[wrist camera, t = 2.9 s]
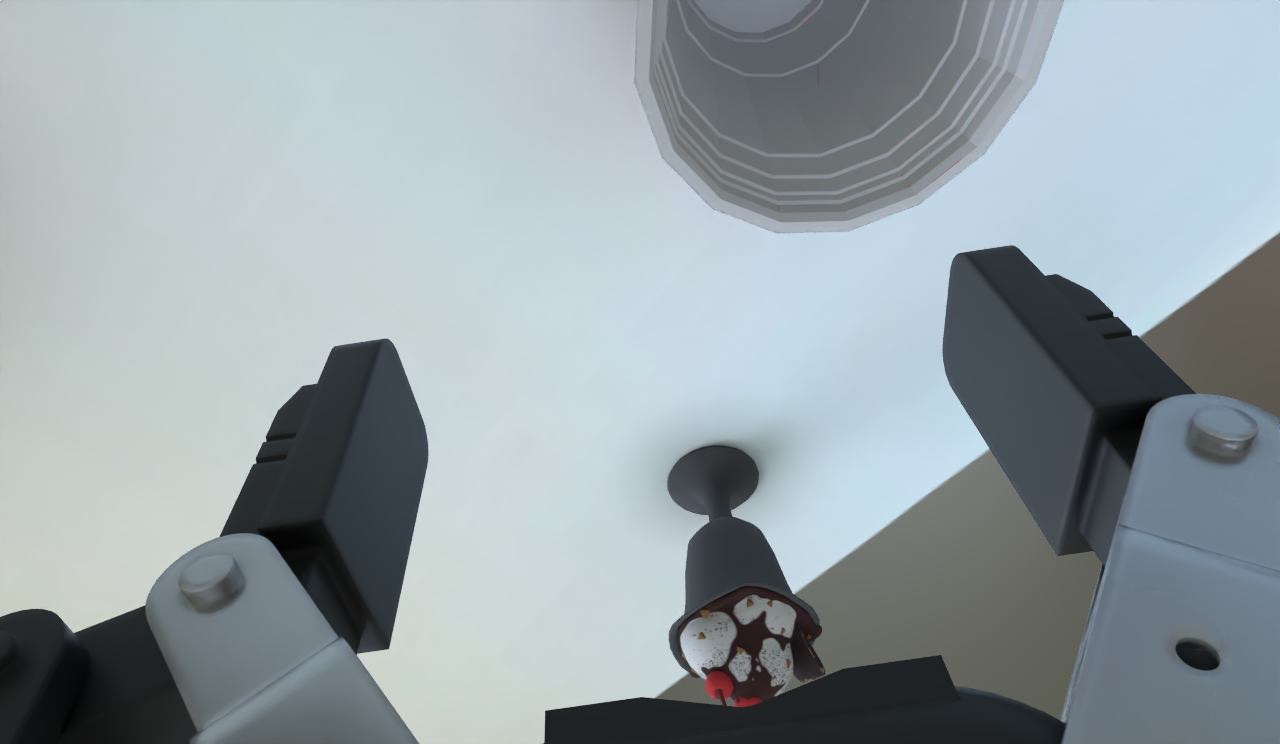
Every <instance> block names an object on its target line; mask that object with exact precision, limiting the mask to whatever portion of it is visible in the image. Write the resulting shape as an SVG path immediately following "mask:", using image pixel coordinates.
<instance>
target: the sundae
mask: <svg viewBox="0 0 1280 744" xmlns="http://www.w3.org/2000/svg"><path fill="white" fill-rule="evenodd" d="M758 476H759V473H758V470H757V467H756V465H755V463H754V461H753V460H752V459H751V458H750V457H749V456H747V455H746V454H745V453H743V452H741V451H739V450H736V449H732V448H728V447H707V448H703V449H700V450H697V451H694V452H692V453H690V454H688V455H687V456H685V457H684V458H682V459H681V460H680V461H679V462H678V463H676V465H675V466H674V468H673V469H672V471H671V473H670V475H669V478H668V491H669V493H670V495H671V497H672V499H673V500H674V501H675V502H676V503H677V504H678V505H679V506H681V507H682V508H684V509H685V510H688V511H691V512H693V513H697V514H701V515H709V521H710V522H709V523H707V524H706V525H704V526H703V527H702V528H701V529H700V530H699V531H698V532H696V533H695V535H694V536H693V537H692V538H691V540H690V541H689V544H688V551H687V561H686V571H685V588H686V604H685V613H684V615H683V616H681V617H680V618H679V619H678V620H677V621H676V622H675V623H674V624H673V625H672V627H671V629H670V631H669V643H670V649H671V651H672V653H673V655H674V657H675V659H676V660H677V662H678V663H679V664H680V666H681V667H682V668H684V669H685V670H686V671H688V672H689V673H690V675H691V676H692V677H695V678H703V679H705V680H706V692H707V693H708V694H709V695H710V696H711V697H712V698H715V699H720V701H721V703H722V705H723V706H726V702H725V699H726V698H728V697H729V696H730V697H731V698H732V699H733V700H734V703H735V704H734V706H735V707H746V706H752V705H755V704H758V703H760V702H763V701H765V700H768V699H770V698H773V697H775V696H778V695H780V694H781V693H782V692H783V690H784V689H785V687H786V686H787V684H788V683H789V681H790V680H791V678H792V676H793V674H794V675H795V676H796V678H797V679H798V680H799V681H801V682H802V683H804V682H806V681H808V680H814V679H816V678H818V677H821V676H823V675H825V668H824V666H823V665H822V663H821V661H820V659H819V657H818V656H817V654H816V652H815V651H814V649H813V647H812V645H813V643H814V641H815V639H816V638H818V637H819V636H820V634H821V633H822V627H821V626H820V625H819V621H820V620H819V618H818V615H817V614H816V612H815V611H814V609H813V608H812V607H811V606H809V605H808V604H807V603H805V602H804V601H803V600H801V599H800V598H798V597H797V596H796V595H794V594H793V593H792V591H791V590H790V588H789V586H788V584H787V581H786V579H785V577H784V575H783V572H782V570H781V568H780V566H779V563H778V561H777V559H776V556H775V554H774V552H773V550H772V549H771V547H770V545H769V543H768V542H767V540H766V538H765V536H764V535H763V533H762V532H761V530H760V529H759V528H757V527H756V526H755V525H753V524H751V523H749V522H746V521H744V520H741V519H738V518H735V517H732V514H731V510H732V509H735V508H736V507H738V506H739V505H741V504H742V503H744V502H745V501H746V500H748V498H749V497H750V496H751V495H752V494H753V492H754V491H755V489H756V487H757V483H758Z"/></svg>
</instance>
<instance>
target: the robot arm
mask: <svg viewBox="0 0 1280 744" xmlns="http://www.w3.org/2000/svg"><path fill="white" fill-rule="evenodd" d="M943 361H944V367H945V372H946V375H947V378H948V381H949V383H950V386H951V387H952V389H953V391H954V393H955V394H956V396H957V397H958V399H959V400H960V402H961V404H962V405H963V407H964V408H965V410H966V412H967V413H968V415H969V416H970V418H971V420H972V421H973V423H974V424H975V426H976V427H977V429H978V431H979V432H980V434H981V435H982V437H983V439H984V440H985V442H986V443H987V445H988V447H989V448H990V450H991V451H992V453H993V454H994V456H995V458H996V459H997V461H998V462H999V464H1000V466H1001V467H1002V469H1003V470H1004V472H1005V473H1006V475H1007V477H1008V478H1009V480H1010V481H1011V483H1012V485H1013V486H1014V488H1015V489H1016V491H1017V493H1018V494H1019V496H1020V497H1021V499H1022V500H1023V502H1024V504H1025V505H1026V507H1027V508H1028V510H1029V512H1030V513H1031V515H1032V516H1033V518H1034V519H1035V521H1036V523H1037V524H1038V526H1039V527H1040V529H1041V530H1042V532H1043V534H1044V535H1045V537H1046V539H1047V540H1048V542H1049V543H1050V545H1051V547H1052V548H1053V550H1054V551H1055V553H1056V554H1057V556H1061V555H1067V554H1075V553H1082V552H1089V551H1094V552H1095V553H1096V555H1097V557H1098V558H1099V560H1100V561H1101V562H1102V567H1101V570H1100V574H1099V577H1098V581H1097V584H1096V587H1095V591H1094V595H1093V599H1092V602H1091V606H1090V610H1089V614H1088V617H1087V621H1086V625H1085V629H1084V633H1083V636H1082V640H1081V643H1080V647H1079V651H1078V655H1077V658H1076V662H1075V666H1074V670H1073V673H1072V677H1071V681H1070V684H1069V688H1068V692H1067V695H1066V699H1065V702H1064V706H1063V710H1062V713H1061V717H1060V720H1058V719H1056V718H1054V717H1053V716H1051V715H1049V714H1047V713H1045V712H1043V711H1041V710H1038V709H1036V708H1034V707H1031V706H1029V705H1027V704H1024V703H1022V702H1019V701H1017V700H1013V699H1010V698H1007V697H1004V696H1001V695H998V694H995V693H990V692H985V691H981V690H976V689H972V688H966V687H957V686H954V685H953V682H952V680H951V678H950V675H949V673H948V671H947V668H946V666H945V663H944V661H943V659H942V656H941V655H939V656H931V657H924V658H917V659H910V660H904V661H896V662H889V663H882V664H875V665H868V666H861V667H853V668H846V669H842V670H839V671H837V672H834V673H832V674H829V675H827V676H825V677H822V678H819V679H817V680H815V681H812V682H810V683H807V684H805V685H802V686H800V687H798V688H795V689H792V690H790V691H787V692H785V693H783V694H780V695H778V696H775V697H773V698H770V699H768V700H765V701H763V702H760V703H758V704H755V705H752V706H746V707H732V706H723V705H713V704H703V703H693V702H683V701H673V700H664V699H654V698H644V697H640V698H633V699H626V700H619V701H612V702H604V703H597V704H590V705H583V706H576V707H569V708H562V709H555V710H548V711H545V743H543V744H1280V420H1279V419H1278V418H1277V417H1275V416H1273V415H1272V414H1270V413H1268V412H1266V411H1265V410H1263V409H1260V408H1258V407H1256V406H1253V405H1251V404H1248V403H1246V402H1243V401H1240V400H1235V399H1232V398H1228V397H1222V396H1217V395H1206V394H1196V393H1195V392H1194V391H1193V390H1192V389H1191V388H1190V387H1189V386H1188V385H1187V384H1186V383H1185V382H1184V381H1183V380H1182V379H1181V378H1180V377H1179V376H1177V374H1176V373H1174V372H1173V371H1172V370H1171V369H1170V368H1169V367H1168V366H1167V365H1166V364H1165V363H1164V362H1163V361H1162V360H1161V359H1160V358H1159V357H1158V356H1157V355H1156V354H1155V353H1154V352H1153V351H1152V350H1151V349H1150V348H1149V347H1148V346H1147V345H1146V344H1145V343H1144V342H1143V341H1142V340H1141V339H1140V338H1139V337H1138V336H1137V335H1135V336H1132V330H1131V329H1129V328H1128V327H1127V326H1126V325H1125V324H1124V323H1123V322H1122V321H1121V320H1120V319H1119V318H1118V317H1114V316H1113V312H1112V311H1111V310H1110V309H1109V308H1108V307H1107V306H1106V305H1105V304H1104V303H1103V302H1102V301H1101V300H1100V299H1099V298H1098V297H1097V296H1096V295H1095V294H1094V293H1093V292H1092V291H1090V290H1088V289H1086V288H1084V287H1082V286H1080V285H1078V284H1076V283H1074V282H1072V281H1070V280H1068V279H1065V278H1063V277H1061V276H1059V275H1057V274H1054V275H1047V276H1045V275H1044V274H1043V273H1042V272H1041V271H1040V270H1039V269H1038V268H1037V267H1036V266H1035V265H1034V264H1033V263H1032V262H1031V261H1030V260H1029V259H1028V258H1027V257H1026V256H1025V255H1024V254H1023V253H1022V252H1021V250H1020V249H1018V248H1017V247H1015V246H1012V245H1010V246H1004V247H997V248H990V249H984V250H977V251H971V252H964V253H959V254H957V255H956V256H955V257H954V259H953V261H952V265H951V270H950V279H949V288H948V298H947V308H946V318H945V327H944V337H943ZM266 440H267V441H266V442H263V444H262V446H261V449H260V451H259V453H258V455H257V457H256V462H257V463H256V464H253V466H252V468H251V470H250V472H249V474H248V477H247V479H246V481H245V483H244V485H243V487H242V490H241V492H240V494H239V496H238V498H237V500H236V502H235V505H234V507H233V509H232V511H231V513H230V515H229V518H228V520H227V522H226V524H225V526H224V528H223V531H222V533H221V535H220V537H219V538H216V539H213V540H211V541H208V542H206V543H203V544H201V545H199V546H198V547H196V548H194V549H192V550H191V551H189V552H187V553H186V554H184V555H183V556H181V557H180V558H179V559H178V560H176V561H175V562H174V563H173V564H172V565H170V566H169V567H168V568H167V569H166V570H165V571H164V572H163V574H162V575H161V576H160V577H159V578H158V579H157V581H156V582H155V584H154V585H153V587H152V589H151V591H150V593H149V595H148V597H147V601H146V605H145V606H142V607H140V608H138V609H135V610H133V611H130V612H127V613H125V614H122V615H120V616H117V617H114V618H112V619H109V620H107V621H104V622H102V623H99V624H96V625H94V626H91V627H89V628H86V629H84V630H81V631H78V632H76V633H73V632H72V631H71V630H70V629H69V627H68V626H67V625H66V624H65V623H64V622H63V621H62V619H61V618H60V617H59V616H58V615H57V614H55V613H53V612H51V611H48V610H44V609H30V610H22V611H18V612H14V613H11V614H8V615H5V616H2V617H0V744H419V743H418V741H417V740H416V738H415V737H414V736H413V734H412V733H411V731H410V730H409V729H408V727H407V726H406V724H405V723H404V722H403V720H402V719H401V717H400V716H399V715H398V713H397V712H396V710H395V709H394V707H393V706H392V705H391V703H390V702H389V700H388V699H387V698H386V696H385V695H384V693H383V692H382V691H381V689H380V688H379V686H378V685H377V684H376V682H375V681H374V679H373V678H372V676H371V675H370V674H369V672H368V671H367V669H366V668H365V667H364V665H363V664H362V662H361V661H360V660H359V658H358V657H357V653H364V652H371V651H378V650H385V649H389V646H390V642H391V637H392V632H393V627H394V622H395V618H396V613H397V608H398V603H399V598H400V594H401V589H402V584H403V579H404V574H405V570H406V565H407V560H408V555H409V550H410V546H411V541H412V536H413V531H414V526H415V522H416V517H417V512H418V507H419V502H420V498H421V493H422V488H423V483H424V478H425V474H426V469H427V463H428V441H427V434H426V429H425V425H424V422H423V419H422V416H421V414H420V411H419V408H418V406H417V403H416V400H415V398H414V395H413V392H412V390H411V387H410V384H409V382H408V379H407V376H406V374H405V371H404V368H403V366H402V363H401V360H400V358H399V355H398V353H397V350H396V348H395V346H394V345H393V343H392V342H391V341H390V340H389V339H379V340H373V341H366V342H360V343H353V344H346V345H340V346H335V347H334V348H333V349H332V350H331V352H330V355H329V357H328V359H327V362H326V364H325V366H324V369H323V371H322V374H321V376H320V378H319V381H318V383H317V384H312V385H306V386H302V387H301V388H300V389H299V390H298V391H297V392H296V393H295V394H294V395H293V396H292V397H291V398H290V399H289V400H288V401H287V402H286V403H285V404H284V405H283V406H282V407H281V408H280V409H279V410H278V412H277V414H276V416H275V418H274V420H273V423H272V425H271V427H270V429H269V431H268V433H267V436H266Z"/></svg>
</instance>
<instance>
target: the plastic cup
mask: <svg viewBox="0 0 1280 744" xmlns="http://www.w3.org/2000/svg"><path fill="white" fill-rule="evenodd" d="M1063 2H1064V0H638V10H637V34H636V58H635V82H634V83H635V86H636V88H637V91H638V94H639V96H640V99H641V102H642V105H643V107H644V110H645V113H646V115H647V118H648V121H649V124H650V126H651V129H652V132H653V134H654V137H655V140H656V143H657V145H658V148H659V151H660V154H661V156H662V158H663V159H664V160H665V161H666V162H667V163H668V164H669V165H670V166H671V167H672V168H673V169H674V170H675V171H676V172H677V173H678V174H679V175H680V176H681V177H682V178H683V180H684V181H685V182H686V183H687V184H688V185H689V186H690V187H691V188H692V189H693V190H694V191H695V192H696V193H697V194H698V195H699V196H700V197H701V198H702V199H703V200H704V201H705V202H706V203H707V204H708V205H709V206H710V207H711V208H712V209H714V210H717V211H720V212H722V213H725V214H728V215H730V216H733V217H736V218H738V219H741V220H743V221H746V222H749V223H751V224H754V225H757V226H759V227H762V228H765V229H767V230H770V231H772V232H775V233H803V232H842V231H850V230H853V229H856V228H858V227H861V226H863V225H866V224H869V223H871V222H874V221H877V220H879V219H882V218H885V217H887V216H890V215H892V214H895V213H898V212H900V211H903V210H906V209H908V208H911V207H914V206H916V205H919V204H920V203H922V202H923V201H924V200H926V199H927V198H928V197H929V196H931V195H932V194H933V193H935V192H936V191H937V190H938V189H940V188H941V187H942V186H944V185H945V184H946V183H947V182H949V181H950V180H951V179H953V178H954V177H955V176H956V175H958V174H959V173H960V172H962V171H963V170H964V169H965V168H967V167H968V166H969V165H971V164H972V163H973V162H974V161H976V160H977V159H978V158H980V157H981V156H982V155H983V154H985V152H986V151H987V150H988V148H989V147H990V145H991V144H992V143H993V141H994V140H995V139H996V137H997V136H998V134H999V133H1000V132H1001V130H1002V129H1003V127H1004V126H1005V125H1006V123H1007V122H1008V121H1009V119H1010V118H1011V116H1012V115H1013V114H1014V112H1015V111H1016V109H1017V108H1018V107H1019V105H1020V104H1021V103H1022V101H1023V100H1024V98H1025V97H1026V96H1027V94H1028V93H1029V92H1030V90H1031V89H1032V87H1033V86H1034V85H1035V83H1036V81H1037V78H1038V75H1039V72H1040V69H1041V66H1042V64H1043V61H1044V58H1045V55H1046V52H1047V49H1048V46H1049V43H1050V40H1051V37H1052V34H1053V31H1054V28H1055V26H1056V23H1057V20H1058V17H1059V14H1060V11H1061V8H1062V5H1063Z"/></svg>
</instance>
